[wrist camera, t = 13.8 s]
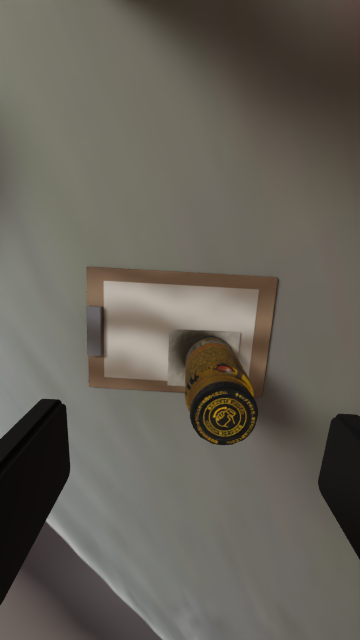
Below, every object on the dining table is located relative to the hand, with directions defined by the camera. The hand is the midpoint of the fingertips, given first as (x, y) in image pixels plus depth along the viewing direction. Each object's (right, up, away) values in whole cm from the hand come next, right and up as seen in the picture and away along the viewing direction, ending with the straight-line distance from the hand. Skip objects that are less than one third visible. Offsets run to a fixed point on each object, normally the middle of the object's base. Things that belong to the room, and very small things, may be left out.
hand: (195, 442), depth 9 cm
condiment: (+2, 0, +22) cm, 22 cm away
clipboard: (-1, +3, +22) cm, 22 cm away
